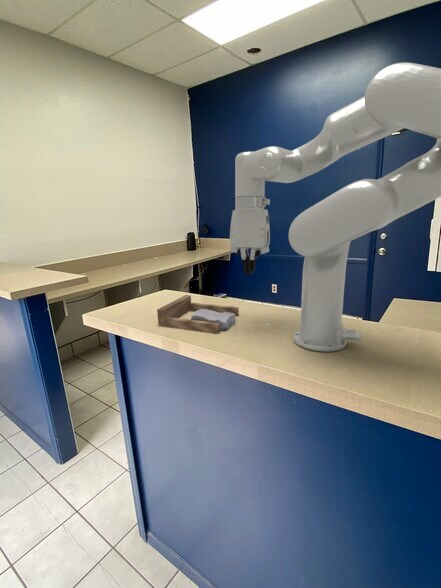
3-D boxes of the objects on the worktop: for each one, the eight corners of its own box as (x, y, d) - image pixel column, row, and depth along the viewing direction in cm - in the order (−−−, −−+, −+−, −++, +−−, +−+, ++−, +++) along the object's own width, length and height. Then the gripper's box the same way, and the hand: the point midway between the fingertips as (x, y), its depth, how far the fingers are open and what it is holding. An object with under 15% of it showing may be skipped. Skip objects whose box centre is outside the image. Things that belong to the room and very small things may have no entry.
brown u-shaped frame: (238, 314, 99) (238, 299, 97) (217, 333, 84) (217, 316, 82) (186, 309, 106) (185, 295, 105) (158, 325, 91) (157, 309, 90)
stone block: (204, 322, 99) (187, 326, 90) (206, 307, 98) (189, 310, 89) (238, 328, 93) (224, 334, 84) (240, 313, 93) (225, 316, 84)
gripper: (281, 203, 81) (279, 272, 86) (228, 205, 86) (228, 269, 91) (274, 203, 74) (272, 278, 79) (217, 204, 80) (218, 274, 85)
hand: (249, 273), depth 85 cm, fingers closed
